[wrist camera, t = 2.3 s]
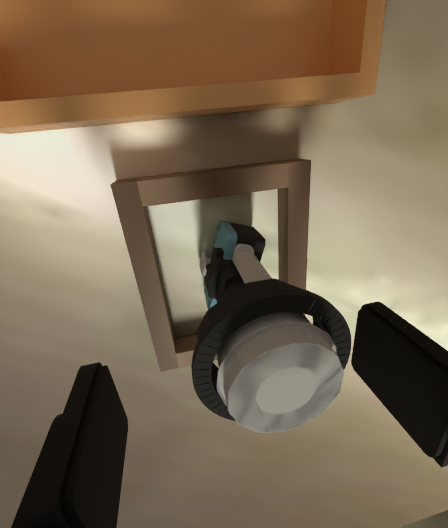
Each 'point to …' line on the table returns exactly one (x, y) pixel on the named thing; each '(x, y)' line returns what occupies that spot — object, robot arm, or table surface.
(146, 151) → the table surface
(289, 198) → the component holder
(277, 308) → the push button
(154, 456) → the table surface
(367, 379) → the robot arm
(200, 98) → the parts tray
